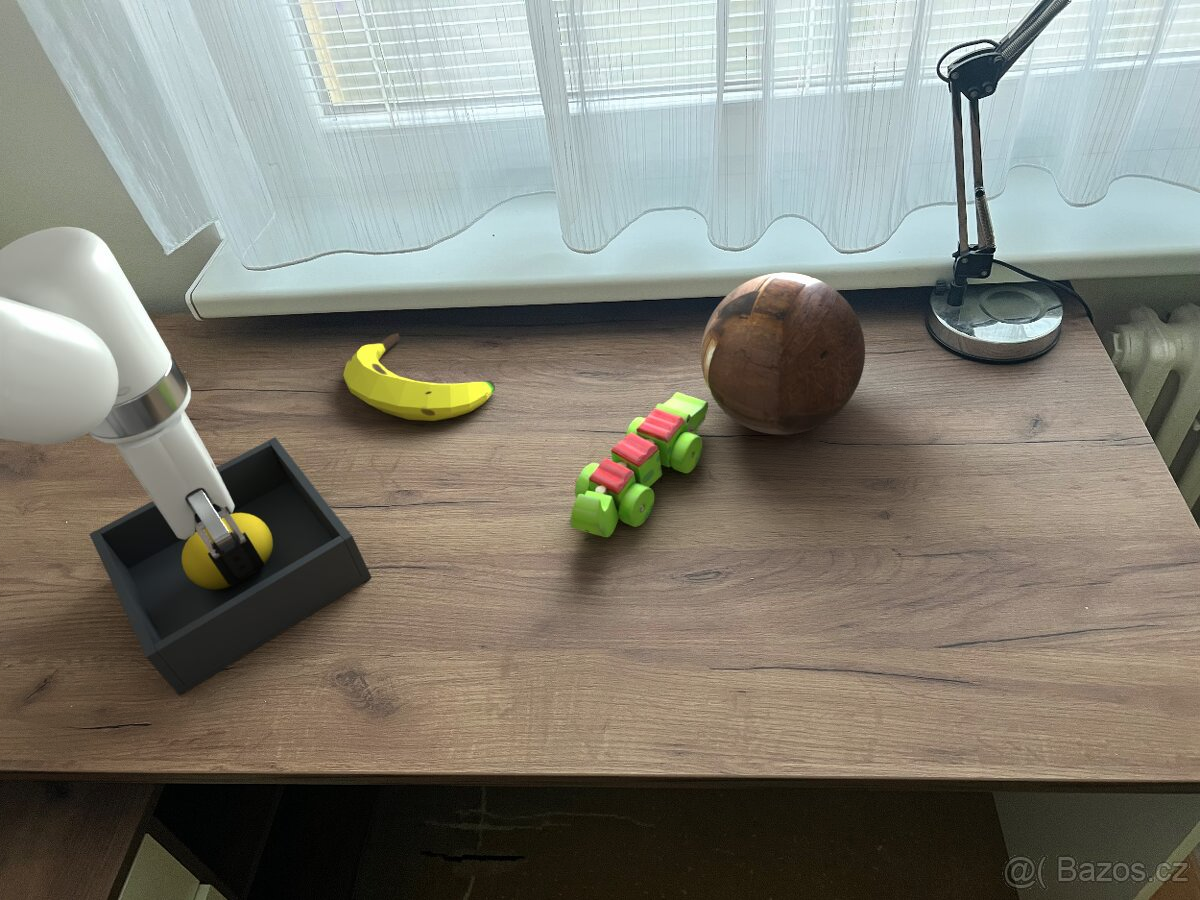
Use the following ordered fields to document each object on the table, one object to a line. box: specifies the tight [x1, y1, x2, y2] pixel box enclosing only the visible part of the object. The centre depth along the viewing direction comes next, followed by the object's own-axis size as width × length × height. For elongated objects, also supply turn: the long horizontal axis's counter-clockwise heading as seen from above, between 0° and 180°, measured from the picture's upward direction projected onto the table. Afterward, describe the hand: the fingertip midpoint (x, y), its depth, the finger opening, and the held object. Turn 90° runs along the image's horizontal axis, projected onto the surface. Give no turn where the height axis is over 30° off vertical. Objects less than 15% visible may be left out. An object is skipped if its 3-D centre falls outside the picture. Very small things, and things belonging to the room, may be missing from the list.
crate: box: [89, 436, 372, 697], centre depth 77 cm, size 18×17×6 cm
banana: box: [343, 332, 496, 422], centre depth 95 cm, size 5×17×15 cm
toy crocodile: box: [570, 391, 709, 538], centre depth 80 cm, size 20×7×6 cm, turn 142°
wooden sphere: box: [700, 272, 866, 436], centre depth 82 cm, size 15×15×15 cm
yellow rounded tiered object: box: [182, 513, 273, 590], centre depth 76 cm, size 8×6×6 cm
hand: (225, 540), depth 76 cm, fingers open, 9 cm apart
